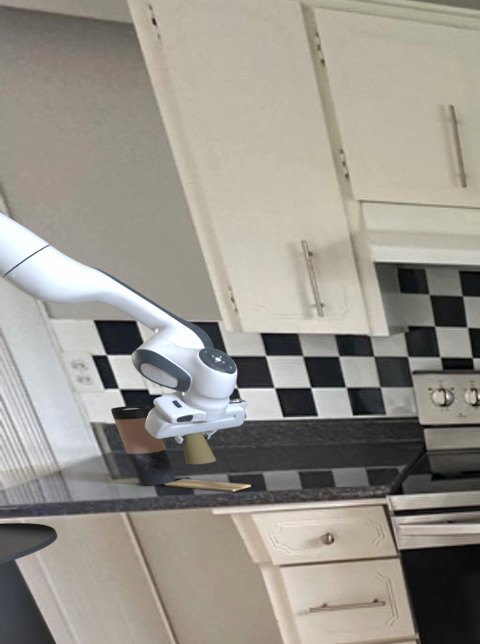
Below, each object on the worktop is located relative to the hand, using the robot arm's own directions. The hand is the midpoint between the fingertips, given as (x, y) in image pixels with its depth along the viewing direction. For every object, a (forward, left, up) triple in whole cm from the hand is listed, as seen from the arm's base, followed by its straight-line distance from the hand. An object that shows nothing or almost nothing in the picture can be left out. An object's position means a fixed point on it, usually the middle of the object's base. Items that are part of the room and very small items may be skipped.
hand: (191, 439), depth 169 cm
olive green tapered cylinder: (0, -1, -6) cm, 6 cm away
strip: (0, 0, -13) cm, 13 cm away
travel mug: (0, +16, -13) cm, 21 cm away
